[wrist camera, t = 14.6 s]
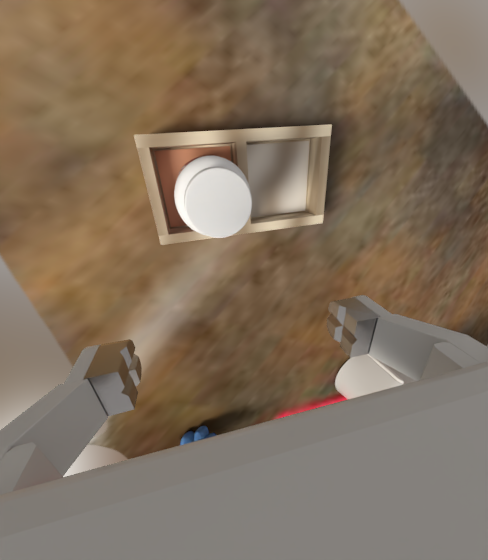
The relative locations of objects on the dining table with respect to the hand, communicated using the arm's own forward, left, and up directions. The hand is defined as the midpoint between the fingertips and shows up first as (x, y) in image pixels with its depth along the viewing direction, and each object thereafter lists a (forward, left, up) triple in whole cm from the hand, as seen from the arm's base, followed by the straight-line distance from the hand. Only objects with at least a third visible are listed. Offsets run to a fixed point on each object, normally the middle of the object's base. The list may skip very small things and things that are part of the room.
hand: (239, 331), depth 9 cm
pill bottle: (-1, -4, -20) cm, 21 cm away
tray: (-5, -4, -21) cm, 22 cm away
